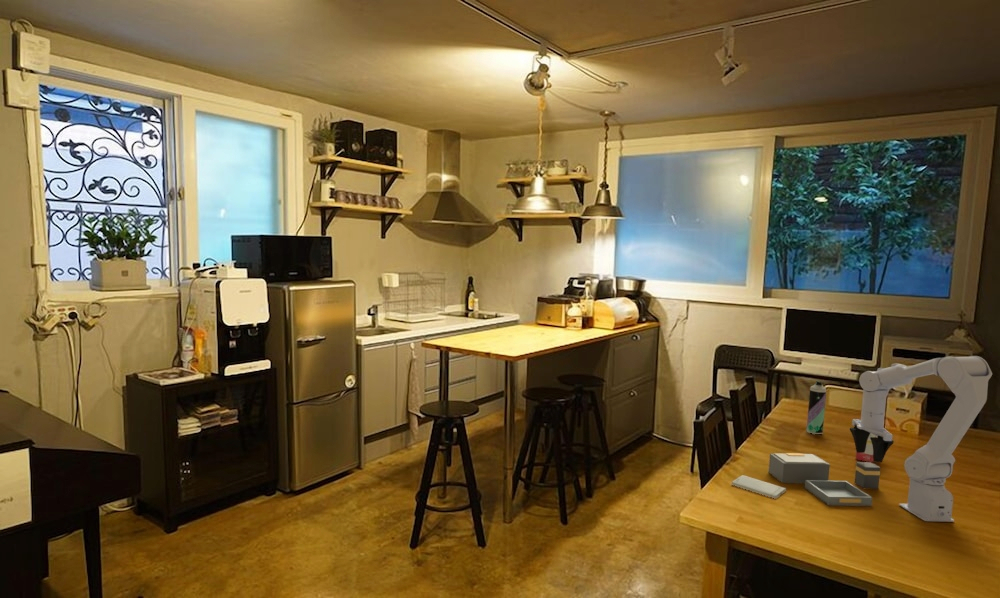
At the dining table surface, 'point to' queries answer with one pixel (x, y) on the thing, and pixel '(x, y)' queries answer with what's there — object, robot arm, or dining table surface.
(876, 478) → the block
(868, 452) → the ink box
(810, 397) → the spray can
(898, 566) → the dining table surface
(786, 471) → the pale grey flat box
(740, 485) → the hard drive
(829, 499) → the tray
